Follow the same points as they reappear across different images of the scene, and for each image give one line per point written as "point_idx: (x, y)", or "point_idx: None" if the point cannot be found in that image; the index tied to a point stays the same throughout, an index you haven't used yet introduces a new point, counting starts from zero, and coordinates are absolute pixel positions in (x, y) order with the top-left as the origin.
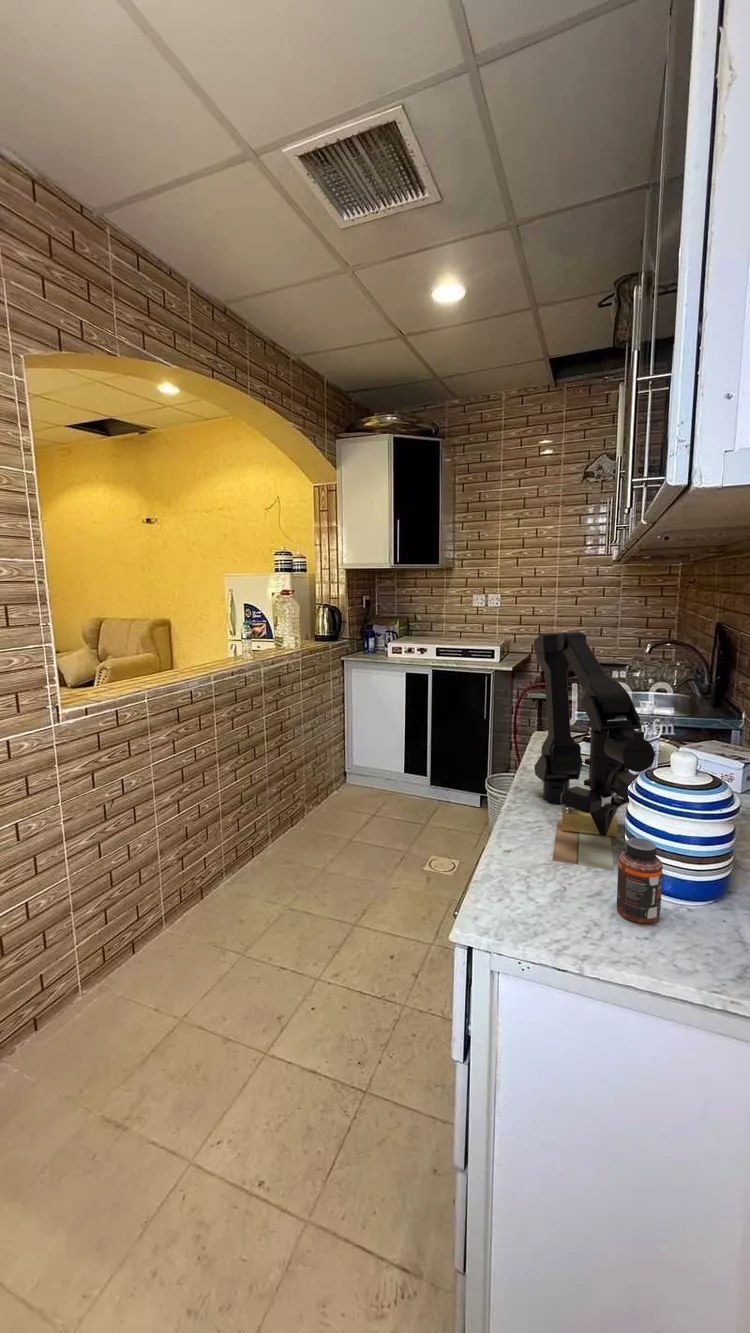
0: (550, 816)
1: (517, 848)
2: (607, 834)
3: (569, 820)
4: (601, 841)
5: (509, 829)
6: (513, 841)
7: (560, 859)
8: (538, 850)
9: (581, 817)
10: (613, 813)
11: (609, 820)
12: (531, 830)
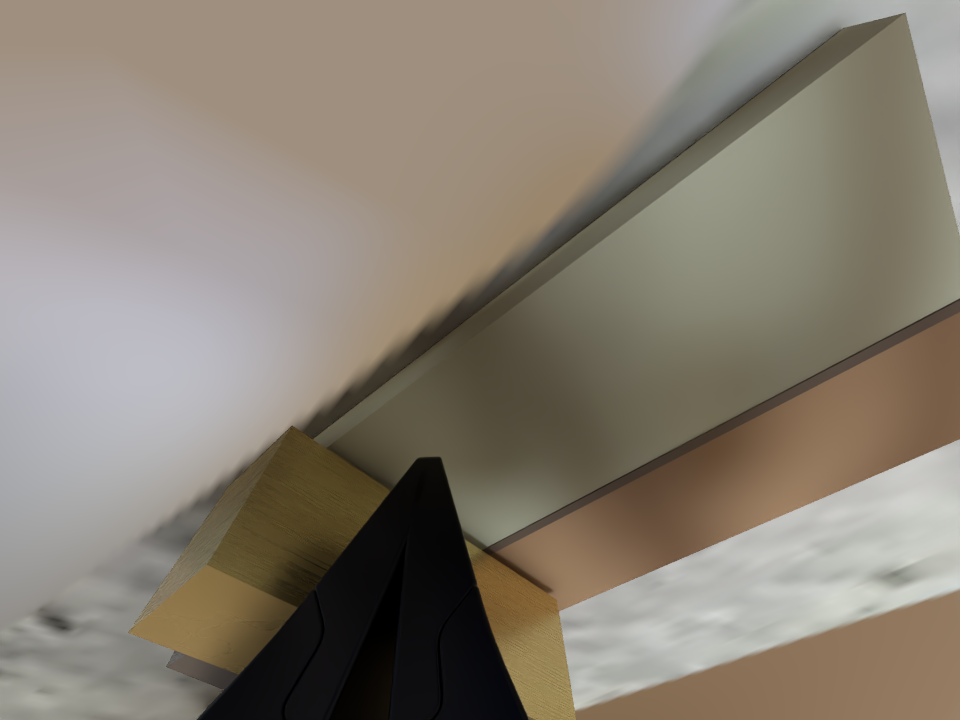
0: None
1: (835, 574)
2: (346, 469)
3: (537, 662)
4: (452, 433)
5: (674, 665)
6: (774, 612)
7: (952, 403)
8: (785, 528)
9: None
10: (283, 686)
11: (383, 585)
12: (605, 635)
